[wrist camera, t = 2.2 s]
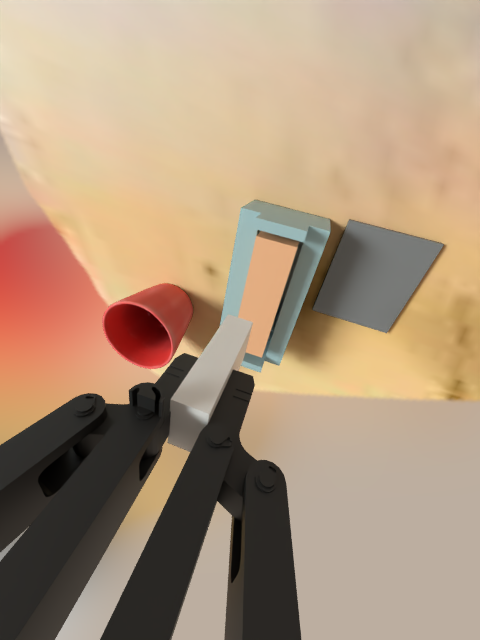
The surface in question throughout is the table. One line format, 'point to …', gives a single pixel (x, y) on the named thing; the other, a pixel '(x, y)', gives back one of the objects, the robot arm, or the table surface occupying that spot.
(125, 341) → the flower pot
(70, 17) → the table surface
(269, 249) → the bar
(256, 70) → the table surface
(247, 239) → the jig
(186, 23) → the table surface
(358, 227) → the mat
